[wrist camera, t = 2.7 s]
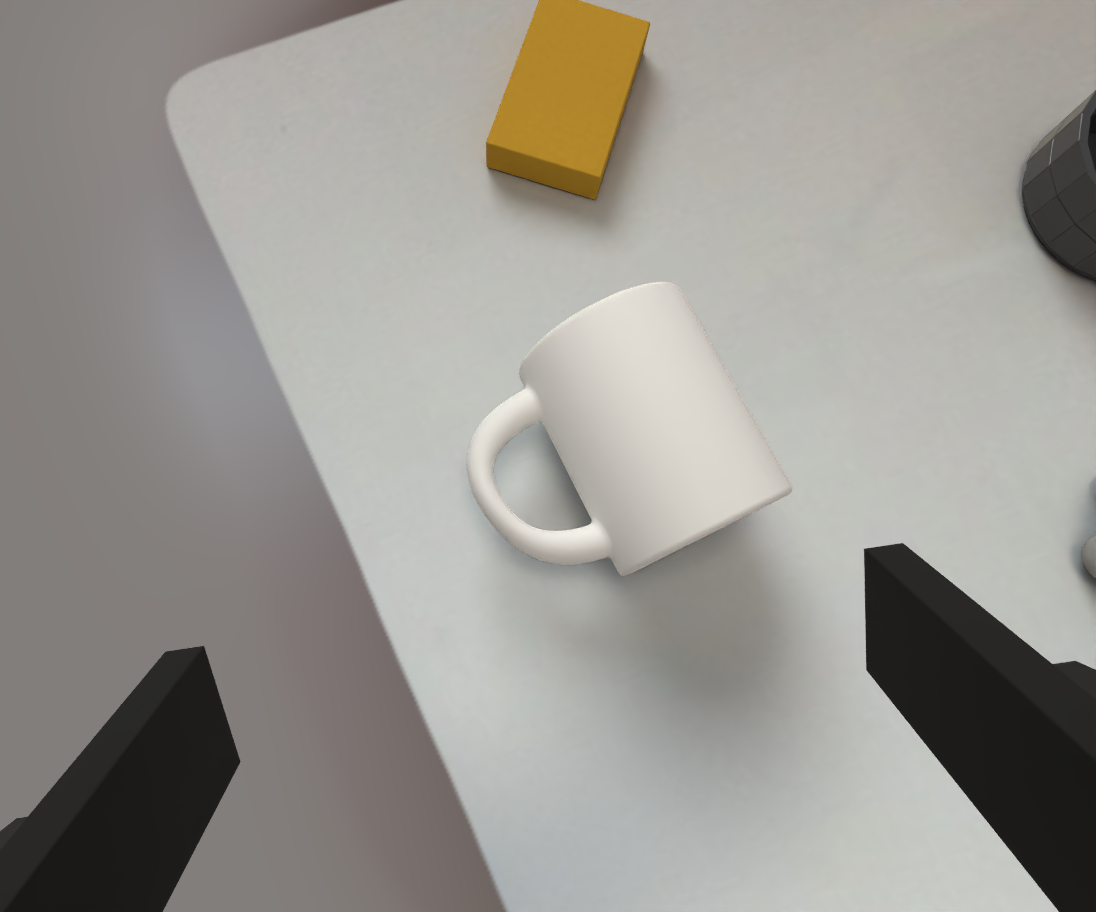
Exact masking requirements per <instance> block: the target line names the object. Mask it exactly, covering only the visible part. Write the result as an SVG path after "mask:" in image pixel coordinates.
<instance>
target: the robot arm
mask: <svg viewBox="0 0 1096 912" xmlns="http://www.w3.org/2000/svg"><path fill="white" fill-rule="evenodd" d="M864 565H865V618H866V670H867V671H868V673H869V674H870V675H871V676H872V678H873V679H874V680H875V681H876V683H877V684H878V685H879V686H880V688H881V689H882V690H883V691H884V693H885V694H886V695H887V696H888V698H889V699H890V700H891V701H892V703H893V704H894V705H895V706H896V708H897V709H898V710H899V711H900V713H901V714H902V715H903V716H904V718H905V719H906V720H907V721H908V723H909V724H910V725H911V726H912V728H913V729H914V730H915V732H916V733H917V734H918V735H919V737H920V738H921V739H922V740H923V742H924V743H925V744H926V745H927V747H928V748H929V749H930V750H931V752H932V753H933V754H934V755H935V757H936V758H937V759H938V760H939V762H940V763H941V764H942V765H943V767H944V768H945V769H946V770H947V772H948V773H949V774H950V775H951V777H952V778H953V779H954V780H955V782H956V783H957V784H958V785H959V787H960V788H961V789H962V790H963V792H964V793H965V794H966V795H967V797H968V798H969V799H970V801H971V802H972V803H973V804H974V806H975V807H976V808H977V809H978V811H979V812H980V813H981V814H982V816H983V817H984V818H985V819H986V821H987V822H988V823H989V824H990V826H991V827H992V828H993V829H994V831H995V832H996V833H997V834H998V836H999V837H1000V838H1001V839H1002V841H1003V842H1004V843H1005V844H1006V846H1007V847H1008V848H1009V849H1010V851H1011V852H1012V853H1013V854H1014V856H1015V857H1016V858H1017V859H1018V861H1019V862H1020V863H1021V864H1022V866H1023V867H1024V868H1025V870H1026V871H1027V872H1028V873H1029V875H1030V876H1031V877H1032V878H1033V880H1034V881H1035V882H1036V883H1037V885H1038V886H1039V887H1040V888H1041V890H1042V891H1043V892H1044V893H1045V895H1046V896H1047V897H1048V898H1049V900H1050V901H1051V902H1052V903H1053V905H1054V906H1055V907H1056V908H1057V910H1058V911H1059V912H1096V670H1095V669H1093V668H1090V667H1088V666H1086V665H1084V664H1081V663H1079V662H1077V661H1071V662H1065V663H1058V664H1052V663H1050V662H1049V661H1048V660H1047V659H1045V658H1044V657H1043V656H1042V655H1040V654H1039V653H1038V652H1037V651H1036V650H1034V649H1033V648H1032V647H1031V646H1029V645H1028V644H1027V643H1026V642H1024V641H1023V640H1022V639H1021V638H1019V637H1018V636H1017V635H1016V634H1014V633H1013V632H1012V631H1011V630H1010V629H1008V628H1007V627H1006V626H1005V625H1003V624H1002V623H1001V622H1000V621H998V620H997V619H996V618H995V617H993V616H992V615H991V614H990V613H988V612H987V611H986V610H985V609H984V608H982V607H981V606H980V605H979V604H977V603H976V602H975V601H974V600H972V599H971V598H970V597H969V596H967V595H966V594H965V593H964V592H963V591H961V590H960V589H959V588H958V587H956V586H955V585H954V584H953V583H951V582H950V581H949V580H948V579H946V578H945V577H944V576H943V575H941V574H940V573H939V572H938V571H937V570H935V569H934V568H933V567H932V566H930V565H929V564H928V563H927V562H925V561H924V560H923V559H922V558H920V557H919V556H918V555H917V554H916V553H914V552H913V551H912V550H911V549H909V548H908V547H907V546H906V545H904V544H903V543H901V544H894V545H887V546H880V547H874V548H867V549H864ZM239 764H240V759H239V756H238V753H237V750H236V747H235V743H234V740H233V737H232V734H231V731H230V727H229V724H228V721H227V718H226V715H225V712H224V708H223V705H222V702H221V699H220V696H219V693H218V689H217V686H216V683H215V679H214V676H213V673H212V670H211V667H210V664H209V660H208V657H207V655H206V651H205V648H204V646H201V647H194V648H188V649H180V650H174V651H167V652H165V653H164V654H163V655H162V657H161V658H160V659H159V660H158V662H157V663H156V664H155V665H154V666H153V667H152V669H151V670H150V671H149V672H148V673H147V675H146V676H145V677H144V678H143V679H142V681H141V682H140V683H139V684H138V685H137V687H136V688H135V689H134V690H133V691H132V693H131V694H130V695H129V696H128V697H127V698H126V700H125V701H124V702H123V703H122V704H121V706H120V707H119V708H118V709H117V710H116V712H115V713H114V714H113V715H112V716H111V718H110V719H109V720H108V721H107V723H106V724H105V725H104V726H103V727H102V729H101V730H100V731H99V732H98V733H97V734H96V736H95V737H94V738H93V739H92V741H91V742H90V743H89V744H88V745H87V746H86V748H85V749H84V750H83V751H82V753H81V754H80V755H79V756H78V757H77V759H76V760H75V761H74V762H73V763H72V765H71V766H70V767H69V768H68V769H67V771H66V772H65V773H64V774H63V775H62V776H61V778H60V779H59V780H58V781H57V783H56V784H55V785H54V786H53V787H52V789H51V790H50V791H49V792H48V793H47V795H46V796H45V797H44V798H43V799H42V800H41V802H40V803H39V804H38V805H37V806H36V808H35V809H34V810H33V811H32V812H31V814H30V815H29V816H28V817H24V818H17V819H15V820H14V821H13V822H12V823H10V824H9V825H8V826H6V827H5V828H4V829H3V830H1V831H0V912H163V910H164V908H165V906H166V904H167V902H168V900H169V898H170V896H171V894H172V893H173V891H174V888H175V887H176V885H177V883H178V881H179V879H180V877H181V875H182V873H183V871H184V869H185V867H186V866H187V864H188V862H189V860H190V858H191V856H192V854H193V852H194V850H195V848H196V846H197V844H198V843H199V841H200V838H201V837H202V835H203V833H204V831H205V829H206V827H207V825H208V823H209V821H210V819H211V817H212V816H213V814H214V812H215V810H216V808H217V806H218V804H219V802H220V800H221V798H222V796H223V794H224V792H225V791H226V789H227V787H228V785H229V783H230V781H231V779H232V777H233V775H234V773H235V771H236V769H237V767H238V765H239Z"/></svg>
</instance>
